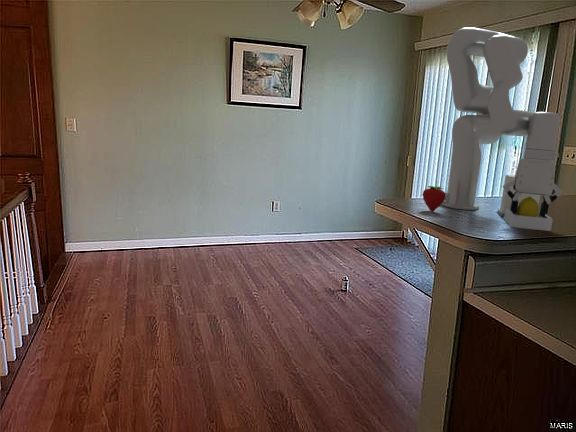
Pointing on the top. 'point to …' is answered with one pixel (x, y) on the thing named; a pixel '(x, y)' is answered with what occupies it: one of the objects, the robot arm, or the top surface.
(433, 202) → the strawberry
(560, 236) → the top surface
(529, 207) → the lemon
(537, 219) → the tray
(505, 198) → the block
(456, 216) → the top surface
